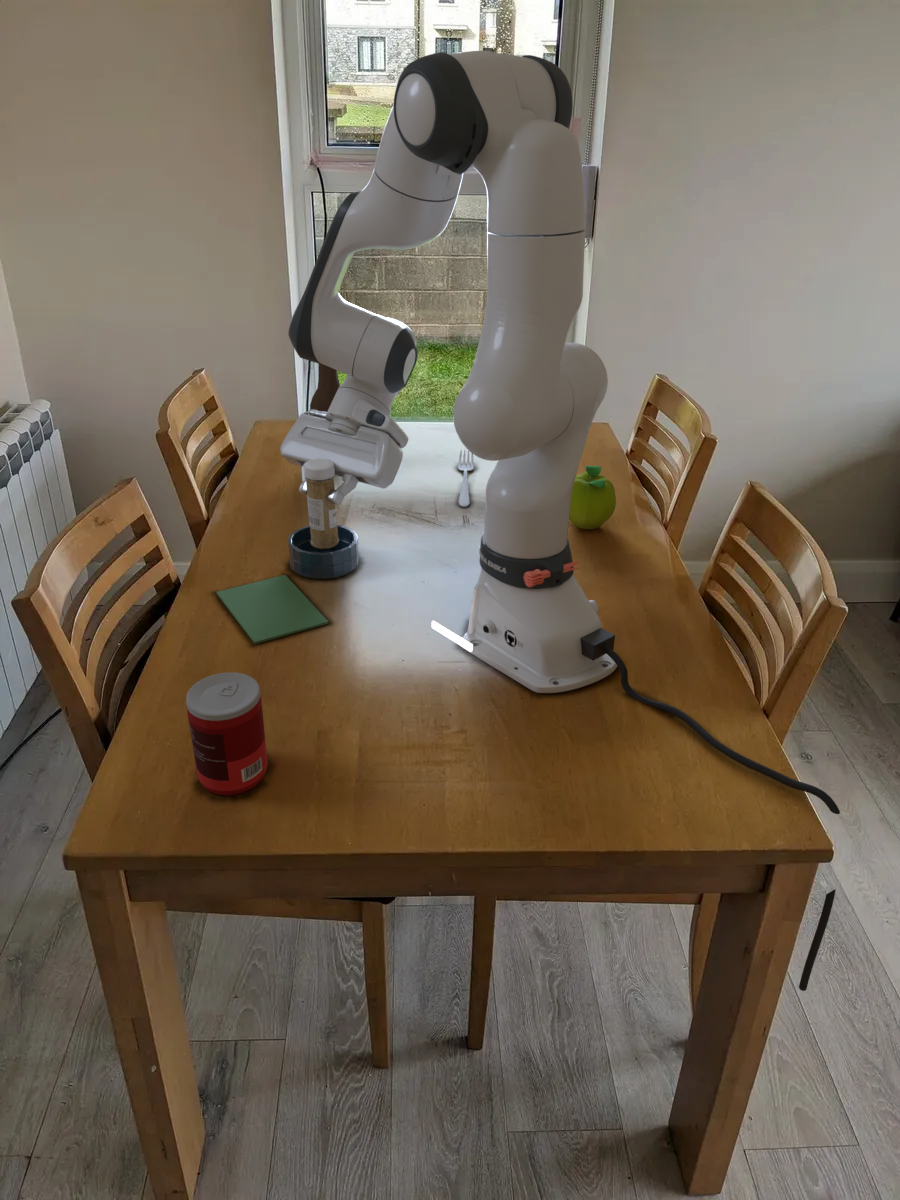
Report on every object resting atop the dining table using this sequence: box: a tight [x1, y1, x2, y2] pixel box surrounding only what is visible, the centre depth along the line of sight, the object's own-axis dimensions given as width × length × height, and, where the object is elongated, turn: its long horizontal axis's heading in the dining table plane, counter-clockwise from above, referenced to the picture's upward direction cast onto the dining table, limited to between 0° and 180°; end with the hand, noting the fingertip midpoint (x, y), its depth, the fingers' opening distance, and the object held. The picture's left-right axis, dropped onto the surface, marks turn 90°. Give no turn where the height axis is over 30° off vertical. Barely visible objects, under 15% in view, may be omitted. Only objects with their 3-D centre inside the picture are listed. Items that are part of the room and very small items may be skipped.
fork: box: [457, 449, 475, 508], centre depth 176 cm, size 3×24×2 cm, turn 178°
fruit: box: [569, 465, 617, 530], centre depth 158 cm, size 9×9×10 cm
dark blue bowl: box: [287, 524, 360, 580], centre depth 145 cm, size 11×11×4 cm
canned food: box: [185, 672, 269, 796], centre depth 100 cm, size 8×8×11 cm
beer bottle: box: [309, 364, 341, 412], centre depth 176 cm, size 8×8×24 cm
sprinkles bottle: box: [304, 459, 339, 549], centre depth 141 cm, size 5×5×13 cm
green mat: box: [215, 574, 329, 645], centre depth 134 cm, size 16×11×1 cm
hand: (318, 498), depth 140 cm, fingers closed on sprinkles bottle, 4 cm apart
